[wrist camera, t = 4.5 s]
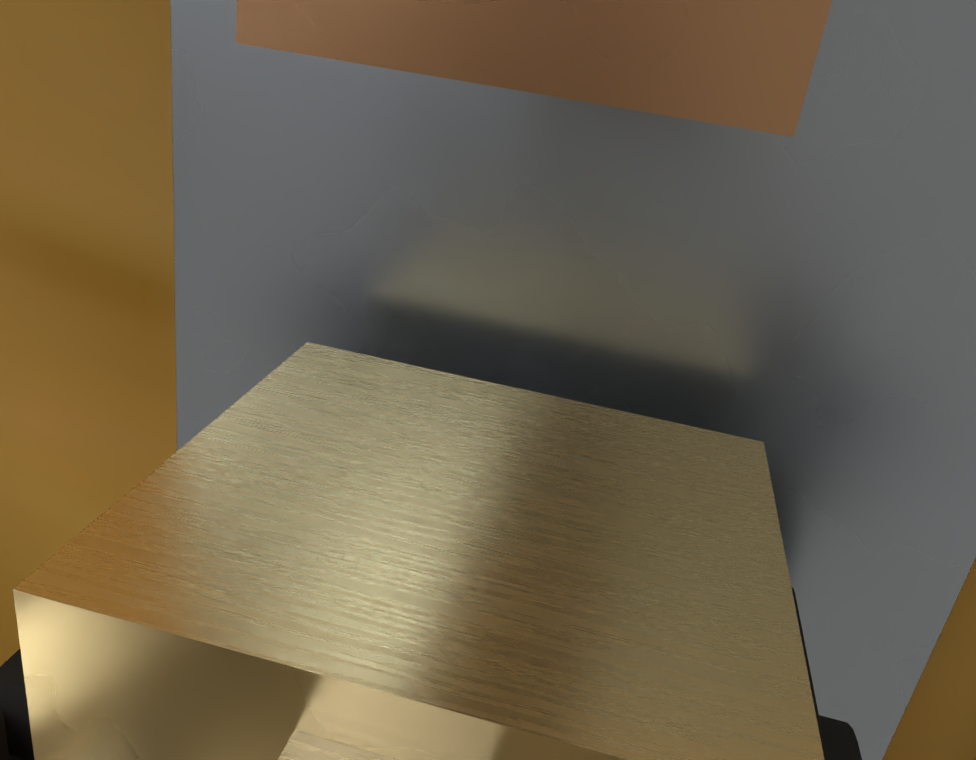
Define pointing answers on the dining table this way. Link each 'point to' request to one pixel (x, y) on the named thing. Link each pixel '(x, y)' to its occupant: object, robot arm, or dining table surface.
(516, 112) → the hand plane
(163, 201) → the dining table surface
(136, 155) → the dining table surface
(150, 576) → the lever cap
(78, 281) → the dining table surface
